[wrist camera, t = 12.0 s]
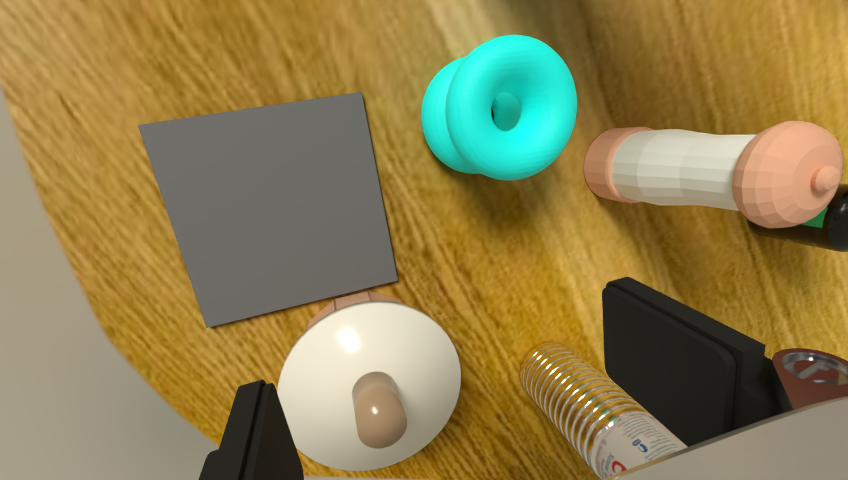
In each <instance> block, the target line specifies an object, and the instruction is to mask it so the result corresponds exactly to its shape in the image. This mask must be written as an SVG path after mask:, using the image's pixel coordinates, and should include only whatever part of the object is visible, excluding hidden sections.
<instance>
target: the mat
mask: <svg viewBox="0 0 848 480" xmlns="http://www.w3.org/2000/svg"><path fill="white" fill-rule="evenodd" d="M138 127H139V130H140V133H141V136H142V139H143V142H144V145H145V148H146V151H147V154H148V157H149V159H150V162H151V165H152V168H153V171H154V174H155V177H156V180H157V183H158V186H159V189H160V192H161V195H162V198H163V201H164V204H165V207H166V210H167V212H168V215H169V218H170V221H171V224H172V227H173V230H174V233H175V236H176V239H177V242H178V245H179V248H180V251H181V254H182V257H183V260H184V262H185V265H186V268H187V271H188V274H189V277H190V280H191V283H192V286H193V289H194V292H195V295H196V298H197V301H198V304H199V307H200V310H201V313H202V315H203V318H204V321H205V324H206V327H207V328H208V327H212V326H216V325H220V324H224V323H228V322H232V321H236V320H240V319H244V318H249V317H253V316H257V315H261V314H265V313H269V312H273V311H277V310H281V309H285V308H289V307H293V306H297V305H301V304H305V303H309V302H313V301H317V300H321V299H325V298H329V297H333V296H337V295H341V294H345V293H349V292H353V291H358V290H362V289H366V288H370V287H374V286H378V285H382V284H386V283H390V282H394V281H398V278H397V273H396V268H395V263H394V258H393V252H392V247H391V242H390V237H389V232H388V227H387V221H386V216H385V211H384V206H383V201H382V196H381V190H380V185H379V180H378V175H377V170H376V165H375V160H374V154H373V149H372V144H371V139H370V134H369V129H368V123H367V118H366V113H365V108H364V103H363V98H362V92H358V93H352V94H345V95H338V96H332V97H325V98H318V99H311V100H305V101H298V102H291V103H284V104H278V105H271V106H264V107H257V108H251V109H244V110H237V111H231V112H224V113H217V114H210V115H204V116H197V117H190V118H183V119H177V120H170V121H163V122H156V123H150V124H143V125H138Z"/></svg>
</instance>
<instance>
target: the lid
mask: <svg viewBox="0 0 848 480" xmlns="http://www.w3.org/2000/svg"><path fill="white" fill-rule="evenodd" d="M460 386H461V370H460V363H459V359H458V355H457V352H456V350H455V348H454V345H453V344H452V342H451V340H450V339H449V337H448V336H447V334H446V333H445V331H444V330H443V329H442V328H441V326H440V325H439V324H438V323H437V322H436V321H435V320H433V319H432V318H431V317H430V316H428V315H427V314H425V313H424V312H422V311H420V310H418V309H416V308H414V307H412V306H409V305H406V304H403V303H398V302H392V301H379V300H377V301H365V302H360V303H355V304H351V305H348V306H345V307H342V308H340V309H337V310H335V311H333V312H331V313H329V314H327V315H326V316H324V317H323V318H321V319H319V320H318V321H317V322H315V323H314V324H313V325H312V326H310V327H309V328H308V329H307V330H306V331H305V332H304V333H303V334H302V335H301V336H300V337H299V339H298V340H297V341H296V343H295V344H294V345H293V347H292V348H291V350H290V352H289V353H288V355H287V357H286V359H285V362H284V364H283V367H282V370H281V374H280V378H279V384H278V393H277V394H278V397H279V400H280V403H281V406H282V409H283V412H284V415H285V417H286V420H287V423H288V426H289V429H290V432H291V435H292V438H293V441H294V444H295V446H296V447H297V448H298V449H299V450H300V451H301V452H302V453H303V454H305V455H306V456H307V457H309V458H311V459H312V460H314V461H316V462H318V463H320V464H322V465H325V466H328V467H331V468H335V469H340V470H346V471H366V470H374V469H379V468H383V467H387V466H390V465H393V464H396V463H398V462H400V461H403V460H405V459H407V458H408V457H410V456H412V455H414V454H415V453H417V452H418V451H420V450H421V449H423V448H424V447H425V446H426V445H427V444H428V443H430V442H431V441H432V440H433V439H434V438H435V437H436V436H437V435H438V434H439V432H440V431H441V430H442V428H443V427H444V426H445V425H446V423H447V421H448V420H449V418H450V416H451V414H452V412H453V410H454V408H455V406H456V403H457V399H458V396H459V391H460Z"/></svg>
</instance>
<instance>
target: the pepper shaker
mask: <svg viewBox="0 0 848 480" xmlns="http://www.w3.org/2000/svg"><path fill="white" fill-rule="evenodd" d="M842 170H843V154H842V151H841V148H840V145H839V142H838V141H837V140H836V139H835V137H834V136H833V135H832V134H831V133H829V132H828V131H827V130H825V129H824V128H822V127H820V126H818V125H815V124H813V123H810V122H805V121H786V122H783V123H780V124H777V125H775V126H773V127H770V128H768V129H766V130H764V131H762V132H760V133H758V134H757V135H714V134H707V133H701V132H694V131H688V130H682V129H665V130H653V129H651V128H648V127H629V128H612V129H610V130H607V131H605V132H603V133H601V134H600V135H599V136H598V137H597V138H595V139H594V141H593V142H592V144H591V145H590V147H589V148H588V151H587V154H586V157H585V160H584V175H585V179H586V183H587V184H588V186H589V188H590V189H591V191H592V192H594V193H595V194H596V195H597V196H599V197H602V198H605V199H609V200H615V201H620V202H625V203H639V202H646V203H651V204H655V205H702V206H708V207H715V208H722V209H728V210H735V211H740V212H741V213H742V214H743V215H744V216H745V217H747V218H748V219H749V220H750V221H752V222H754V223H756V224H757V225H760V226H763V227H766V228H784V227H793V226H796V225H798V224H801V223H804V222H806V221H808V220H810V219H812V218H814V217H816V216H817V215H818V214H819V213H820V212H821V211H823V210H824V209H825V208H826V206H827V205H828V204H829V202H830V201H831V199H832V198H833V197H834V195H835V192H836V190H837V188H838V185H839V183H840V179H841V174H842Z"/></svg>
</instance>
